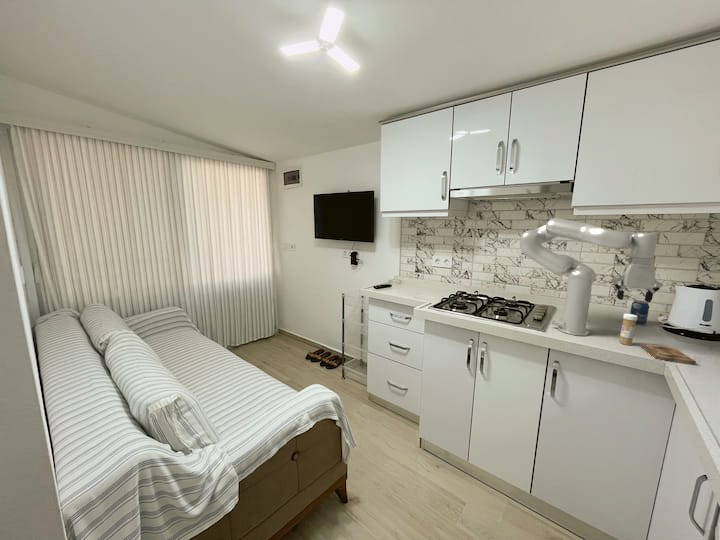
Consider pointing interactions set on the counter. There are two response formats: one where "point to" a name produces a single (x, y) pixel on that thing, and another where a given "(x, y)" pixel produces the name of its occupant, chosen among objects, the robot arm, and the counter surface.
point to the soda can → (640, 311)
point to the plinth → (667, 354)
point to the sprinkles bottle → (628, 329)
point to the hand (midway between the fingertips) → (633, 300)
